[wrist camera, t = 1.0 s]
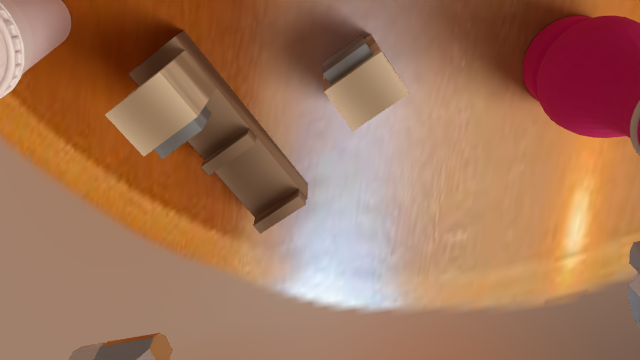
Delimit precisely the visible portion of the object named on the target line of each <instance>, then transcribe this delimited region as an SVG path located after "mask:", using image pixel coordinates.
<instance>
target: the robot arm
mask: <svg viewBox="0 0 640 360" xmlns="http://www.w3.org/2000/svg"><path fill="white" fill-rule="evenodd" d="M629 263H630V264H631V265H632V266H633V267H634V268H635V269H636V270H637V271H638V273H637V275H636V276H635V277H634V278H633V280H632V281H631V283H630V284H629V304H630V307H631V311H632V314H633V317H634V319H635V321H636V322H637V324H638V326H639V328H640V241H637V242H634V243H633V245H632V247H631V250H630V261H629ZM171 353H172V348H171V346H170V344H169V342H168V339H167V337H166V336H165V335H163V334H160V333H157V334H151V335H145V336H139V337H134V338H127V339H121V340H115V341H109V342H107V343H99V344H94V345H88V346H83V347H80V348H78V349H77V350H75V351H74V352H73V353H72V355H71V357H70V358H69V360H169V359H170V356H171Z"/></svg>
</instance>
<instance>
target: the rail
mask: <svg viewBox="0 0 640 360" xmlns="http://www.w3.org/2000/svg"><path fill="white" fill-rule="evenodd" d="M129 76H130V77H131V78H132V79H133V80H134V81H135V82H136V83H137V85H138V86H139V87H138V88H137V89H135V90H134V91H133V92H132V93H131V94H129V95H128V96H127V97H126V98H125V99H123V100H122V101H121V102H120V103H119V104H117V105H116V106H115V107H114V108H113V109H111V110H110V111H109V112H108V113H107V114H105V116H106V117H107V118H108V119H109V120H110V121H111V122H112V123H113V124H114V125H115V126H116V127H117V128H118V129H119V130H120V132H121V133H122V134H123V135H124V136H125V137H126V138H127V139H128V140H129V141H130V142H131V143H132V144H133V145H134V146H135V148H136V149H137V150H138V151H139V152H140V153H141V154H142V155H143V156H145V155H147V154H148V153H149V152H151V151H152V150H153V149H154V150H155V151H156V152H157V153H158V154H159V155H160V157H161V158H162V159H163V158H165V157H166V156H167V155H169V154H170V153H171V152H173V151H174V150H175V149H177V148H178V147H180V146H181V145H182V144H184V143H185V142H186V141H188V142H189V143H190V144H191V146H192V147H193V148H194V149H195V150H196V151H197V152H198V154H199V155H200V156H201V157H202V158H203V159H204V162H203V164H202V166H201V168H202V169H203V170H204V171H205V172H206V173H207V174H208V176H209V175H211V174H212V173H214V172H215V173H216V174H217V175H218V176H219V177H220V178H221V180H222V181H223V182H224V183H225V184H226V185H227V186H228V187H229V189H230V190H231V191H232V192H233V193H234V194H235V195H236V197H237V198H238V199H239V200H240V201H241V202H242V203H243V204H244V206H245V207H246V208H247V209H248V210H249V211H250V212H251V213H252V215H253V216H254V217H255V220H254V225H253V226H254V227H255V228H256V229H257V230H258V232H259V233H260V234H261V233H262V232H264V231H265V230H267V229H268V228H270V227H272V226H273V225H275V224H276V223H278V222H279V221H281V220H282V219H284V218H286V217H287V216H289V215H290V214H292V213H293V212H295V211H296V210H298V209H299V208H301V207H303V206H304V205H306V199H307V195H308V184H307V182H306V181H305V180H304V179H303V177H302V176H301V175H300V174H299V172H298V171H297V170H296V169H295V167H294V166H293V165H292V164H291V162H290V161H289V160H288V159H287V158H286V156H285V155H284V154H283V153H282V151H281V150H280V149H279V148H278V146H277V145H276V144H275V143H274V141H273V140H272V139H271V138H270V136H269V135H268V134H267V133H266V131H265V130H264V129H263V128H262V127H261V125H260V124H259V123H258V122H257V120H256V119H255V118H254V117H253V115H252V114H251V113H250V112H249V110H248V109H247V108H246V107H245V105H244V104H243V103H242V102H241V101H240V99H239V98H238V97H237V96H236V94H235V93H234V92H233V91H232V89H231V88H230V87H229V86H228V84H227V83H226V82H225V81H224V79H223V78H222V77H221V76H220V74H219V73H218V72H217V71H216V70H215V68H214V67H213V66H212V65H211V63H210V62H209V61H208V60H207V58H206V57H205V56H204V55H203V53H202V52H201V51H200V50H199V48H198V47H197V46H196V45H195V44H194V42H193V41H192V40H191V39H190V37H189V36H188V35H187V34H186V32H185V31H182V32H181V33H179V34H178V35H176V36H175V37H174V38H172V39H171V40H170V41H169V42H167V43H166V44H165V45H164V46H162V47H161V48H160V49H159V50H157V51H156V52H155V53H154V54H152V55H151V56H150V57H149V58H147V59H146V60H145V61H144V62H142V63H141V64H140V65H139V66H137V67H136V68H135V69H134V70H132V71H131V72H130V73H129Z"/></svg>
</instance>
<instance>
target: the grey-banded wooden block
mask: <svg viewBox="0 0 640 360" xmlns="http://www.w3.org/2000/svg"><path fill="white" fill-rule="evenodd" d="M322 68H323V69H322V71H323V85H324V93H325V94H326V95H327V97H328V98H329V99H330V101H331V102H332V104H333V105H334V106H335V108H336V109H337V110H338V112H339V113H340V115H341V116H342V117H343V119H344V120H345V121H346V123H347V124H348V125H349V127H350V128H351V130H352V131H354V130H355V129H357V128H358V127H360V126H361V125H363V124H364V123H366V122H367V121H369V120H370V119H372V118H373V117H375V116H376V115H378V114H379V113H381V112H382V111H384V110H385V109H387V108H388V107H390V106H391V105H393V104H394V103H396V102H397V101H399V100H400V99H402V98H403V97H405V96H406V95H408V94H409V92H408V91H407V89H406V88H405V86H404V85H403V83H402V81H401V80H400V78H399V77H398V75H397V74H396V72H395V70H394V69H393V67H392V66H391V64H390V63H389V61H388V60H387V58H386V57H385V55H384V54H383V52H382V51H381V49H380V47H379V46H378V44H377V43H376V41H375V40H374V38H373V37H372V35H371V34H370V35H369V36H368V37H366V38H365V39H364V38H363V37H362V35H360V36H359V37H357V38H356V39H355V40H353V41H352V42H350V43H349V44H348V45H346V46H345V47H344V48H342V49H341V50H339V51H338V52H337V53H335V54H334V55H332V56H331V57H330V58H328V59H327V60H325V61H324V62H323V63H322Z"/></svg>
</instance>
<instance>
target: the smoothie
mask: <svg viewBox="0 0 640 360" xmlns="http://www.w3.org/2000/svg"><path fill="white" fill-rule="evenodd" d="M70 30H71V17H70V14H69V11H68V9H67V7H66V5H65V4H64V3H63V1H62V0H0V98H2V97H3V96H5V95H6V94H7V93H9V92H10V91H11V90H13V88H14V87H15V86H16V84H17V83H18V81H19V80H20V78H21V75H22V74H23V73H24V72H25V71H27V70H28V69H29V68H30V67H32V66H33V65H34V64H35V63H37V62H38V61H39V60H41V59H42V58H43V57H44V56H46V55H47V54H48V53H49V52H51V51H52V50H53V49H54V48H56V47H57V46H58V45H60V44H61V43H62V42H63V41H64V40H65V39H66V38H67V37H68V35H69V33H70Z"/></svg>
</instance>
